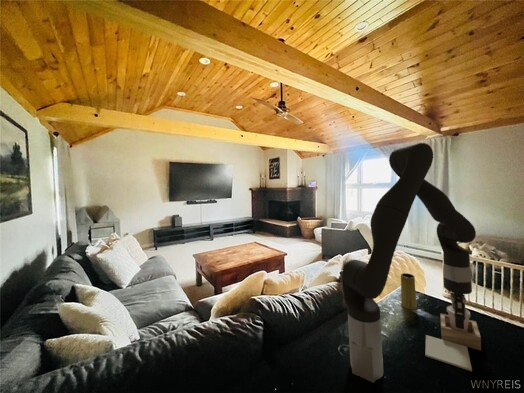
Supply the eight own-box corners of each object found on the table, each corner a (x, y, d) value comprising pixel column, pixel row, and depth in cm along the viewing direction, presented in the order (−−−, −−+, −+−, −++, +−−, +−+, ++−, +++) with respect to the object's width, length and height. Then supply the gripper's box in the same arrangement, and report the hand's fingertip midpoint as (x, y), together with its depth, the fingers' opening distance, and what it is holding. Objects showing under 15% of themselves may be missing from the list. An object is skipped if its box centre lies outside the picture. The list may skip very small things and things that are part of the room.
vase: (416, 304, 101) (415, 273, 100) (417, 311, 96) (416, 279, 95) (401, 301, 104) (399, 272, 103) (401, 308, 99) (399, 276, 98)
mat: (471, 371, 65) (471, 369, 65) (425, 356, 71) (425, 354, 71) (467, 348, 73) (467, 346, 73) (426, 336, 80) (425, 334, 80)
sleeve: (481, 350, 72) (480, 337, 72) (441, 339, 78) (441, 327, 78) (476, 333, 80) (475, 321, 80) (440, 324, 86) (440, 313, 86)
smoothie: (476, 343, 75) (474, 303, 75) (454, 341, 76) (453, 302, 76) (463, 331, 81) (461, 294, 81) (443, 330, 83) (442, 293, 82)
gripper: (442, 268, 86) (444, 310, 87) (444, 282, 75) (446, 330, 75) (468, 271, 82) (470, 315, 82) (474, 287, 70) (476, 338, 71)
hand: (458, 322), depth 79 cm, fingers closed on smoothie, 6 cm apart
